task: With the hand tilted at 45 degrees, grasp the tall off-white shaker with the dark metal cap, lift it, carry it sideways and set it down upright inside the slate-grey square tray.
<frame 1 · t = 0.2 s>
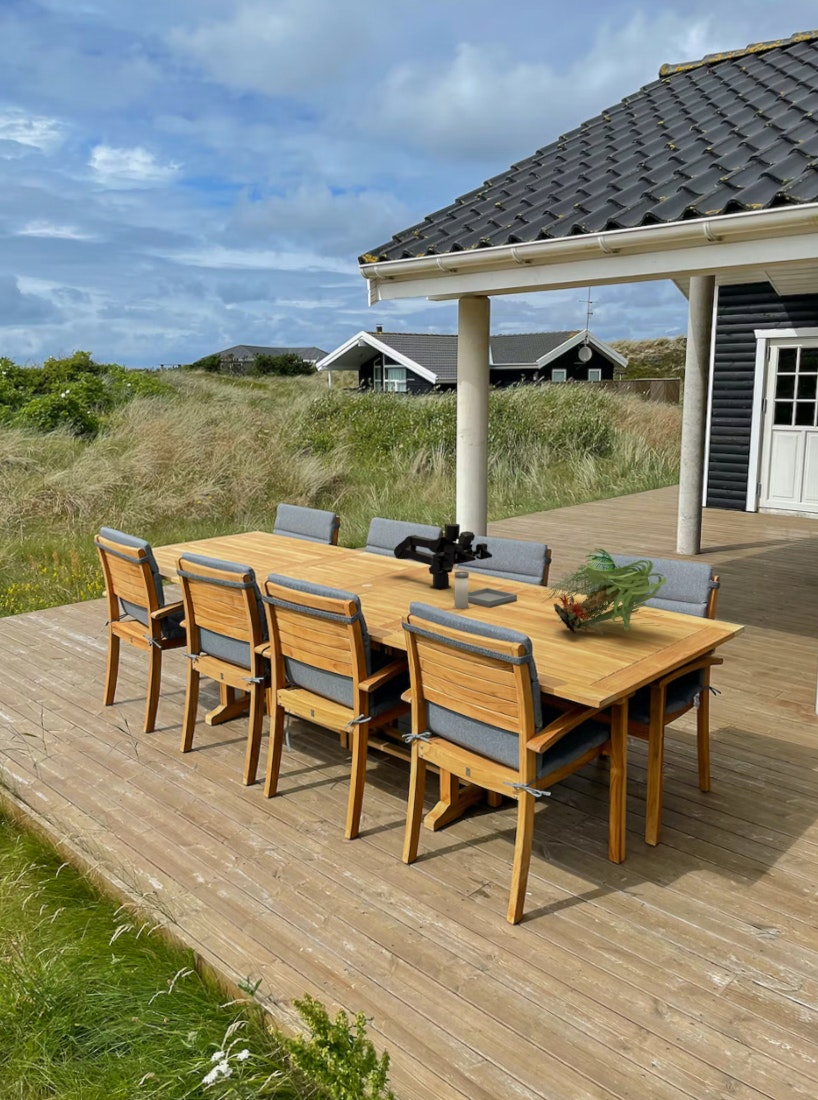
hand: (483, 557, 342), 17 cm above the table, fingers open, 9 cm apart
tray: (488, 600, 342), on the table
plant: (594, 629, 301), on the table
shaker: (461, 607, 332), on the table
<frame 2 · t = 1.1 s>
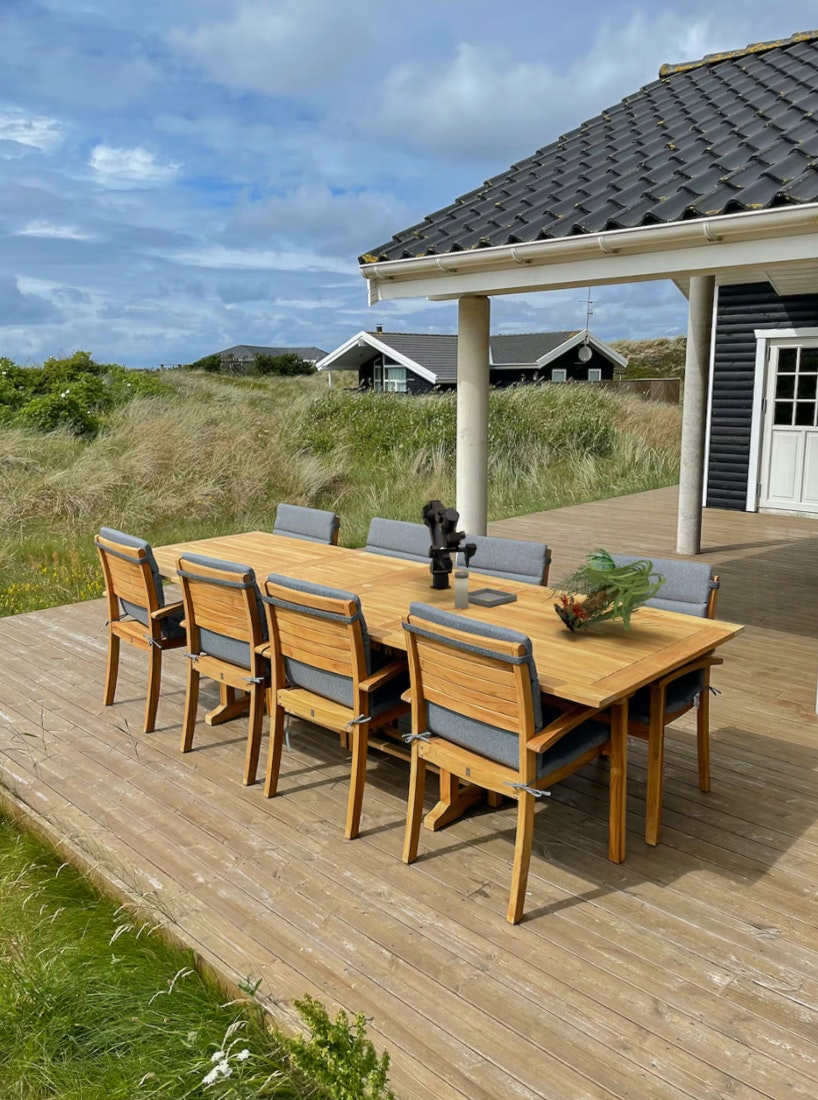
hand: (456, 568, 337), 14 cm above the table, fingers open, 9 cm apart
nothing on the table moved.
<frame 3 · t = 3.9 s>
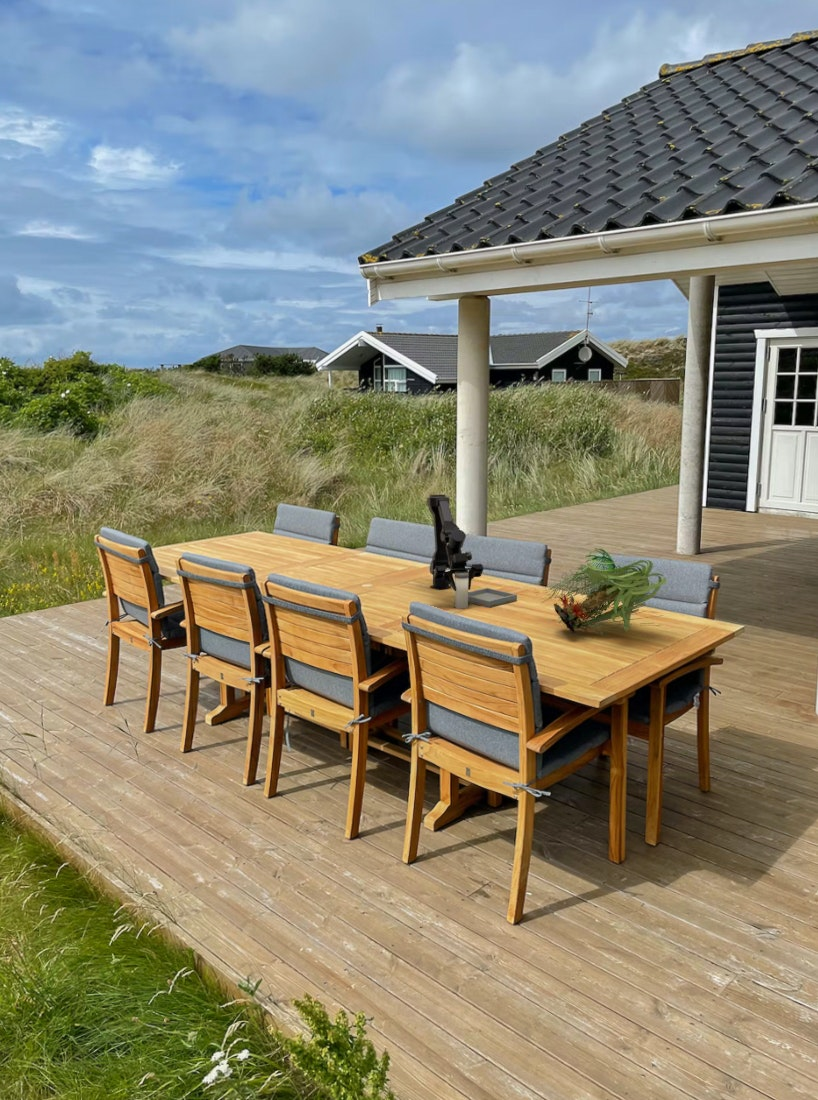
hand: (462, 589, 329), 7 cm above the table, fingers closed on shaker, 5 cm apart
shaker: (461, 607, 332), on the table, touching gripper
everything else where it was.
when the fingers open (9 cm above the table, at t = 7.7 s): shaker drops 1 cm, resting on tray.
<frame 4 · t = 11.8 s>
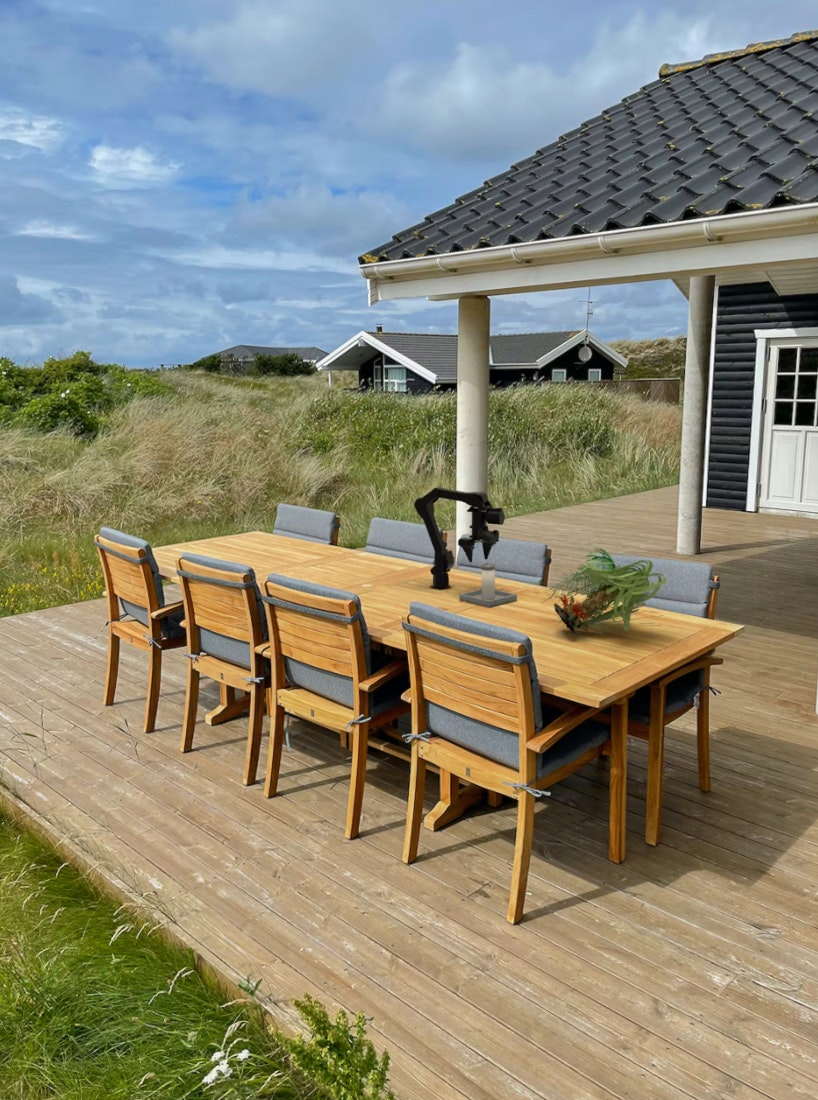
hand: (478, 560, 354), 13 cm above the table, fingers open, 9 cm apart
shaker: (488, 598, 342), point 1 cm above the table, touching tray
everything else where it was.
at the end: shaker inside the target area on the tray (0.1 cm from its centre), point 0.8 cm above the tray's base; shaker tilted 1°; the gripper is holding nothing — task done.
